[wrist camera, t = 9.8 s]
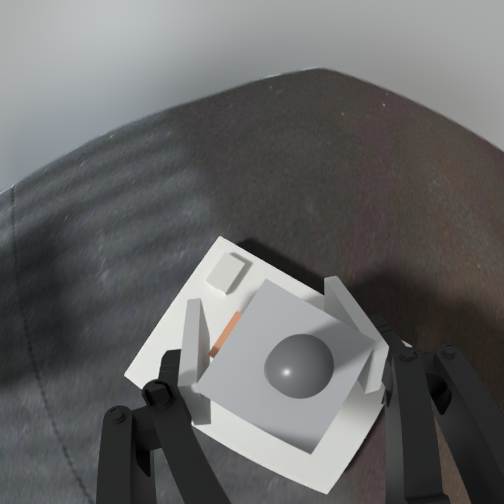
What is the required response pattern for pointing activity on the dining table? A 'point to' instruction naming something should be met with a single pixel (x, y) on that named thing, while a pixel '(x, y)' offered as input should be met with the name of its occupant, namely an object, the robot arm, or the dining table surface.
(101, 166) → the dining table surface
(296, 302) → the plug
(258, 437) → the socket plate
